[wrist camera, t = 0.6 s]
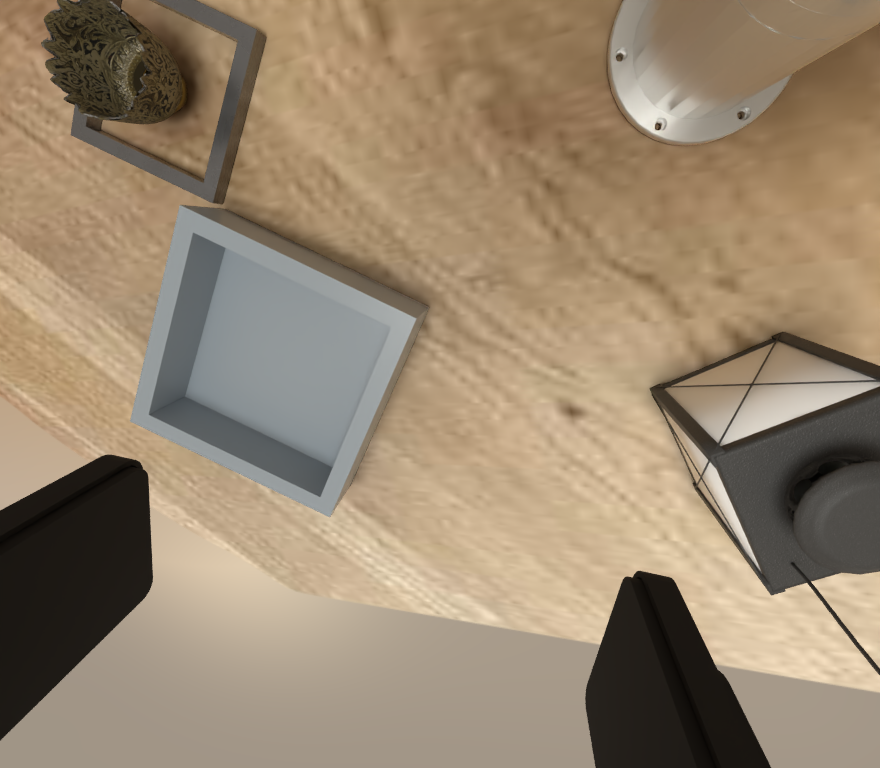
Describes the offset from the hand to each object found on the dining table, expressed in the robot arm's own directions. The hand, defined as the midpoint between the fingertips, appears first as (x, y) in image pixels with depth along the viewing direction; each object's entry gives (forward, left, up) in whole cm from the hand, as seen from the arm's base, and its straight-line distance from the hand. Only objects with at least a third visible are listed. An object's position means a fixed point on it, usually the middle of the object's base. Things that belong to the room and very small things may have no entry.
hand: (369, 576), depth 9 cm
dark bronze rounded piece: (-5, -31, -34) cm, 47 cm away
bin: (+12, -14, -34) cm, 38 cm away
